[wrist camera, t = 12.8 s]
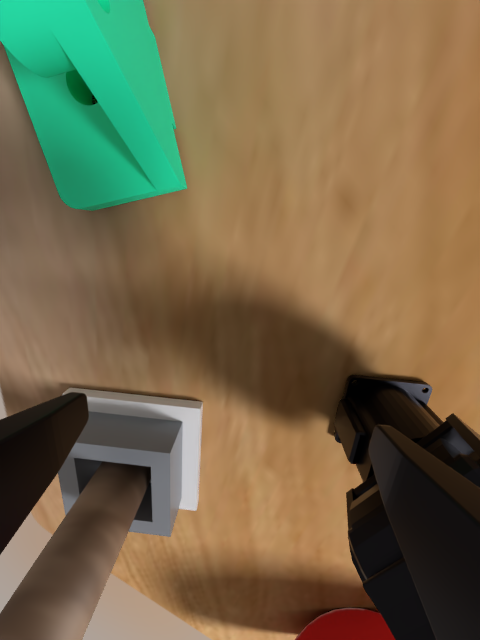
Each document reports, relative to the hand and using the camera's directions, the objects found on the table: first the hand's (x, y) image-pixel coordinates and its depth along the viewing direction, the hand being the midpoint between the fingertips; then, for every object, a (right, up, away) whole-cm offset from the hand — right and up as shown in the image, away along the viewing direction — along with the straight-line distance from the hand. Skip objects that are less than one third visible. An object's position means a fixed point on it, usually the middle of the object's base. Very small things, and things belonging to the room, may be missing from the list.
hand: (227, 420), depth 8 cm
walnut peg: (-9, -10, +17) cm, 21 cm away
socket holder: (-9, -9, +17) cm, 22 cm away
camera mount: (-8, +17, +9) cm, 21 cm away
